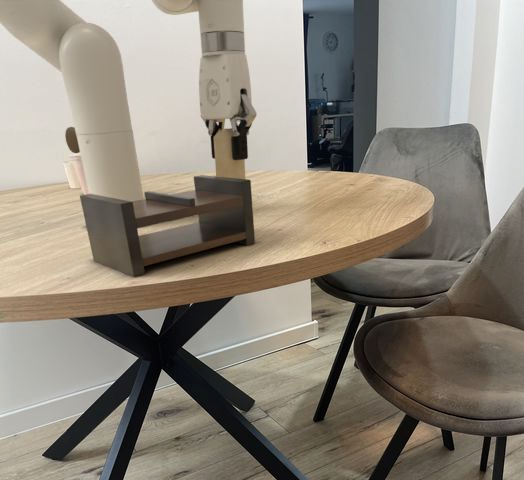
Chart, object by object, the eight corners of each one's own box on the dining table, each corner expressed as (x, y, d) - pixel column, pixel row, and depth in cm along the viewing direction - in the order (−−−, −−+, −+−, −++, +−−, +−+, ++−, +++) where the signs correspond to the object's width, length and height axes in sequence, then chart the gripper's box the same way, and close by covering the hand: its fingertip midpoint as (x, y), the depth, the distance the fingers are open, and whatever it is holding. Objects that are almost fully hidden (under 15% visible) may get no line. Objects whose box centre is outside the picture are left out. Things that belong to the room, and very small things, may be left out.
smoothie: (84, 191, 136) (72, 135, 130) (107, 190, 135) (96, 133, 129) (73, 196, 131) (60, 137, 124) (97, 195, 130) (85, 135, 124)
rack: (93, 260, 72) (79, 195, 69) (208, 232, 84) (201, 174, 80) (134, 277, 64) (120, 203, 60) (255, 243, 75) (250, 179, 71)
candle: (241, 187, 95) (238, 128, 90) (213, 187, 96) (209, 129, 92) (248, 182, 100) (246, 127, 95) (221, 183, 101) (217, 127, 96)
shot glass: (63, 189, 144) (57, 163, 141) (75, 185, 150) (69, 160, 147) (86, 188, 143) (80, 161, 140) (97, 184, 149) (92, 159, 146)
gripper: (177, 51, 92) (187, 158, 99) (236, 40, 80) (243, 163, 88) (211, 52, 96) (218, 155, 104) (272, 42, 84) (275, 159, 92)
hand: (229, 157), depth 96 cm, fingers closed on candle, 5 cm apart
